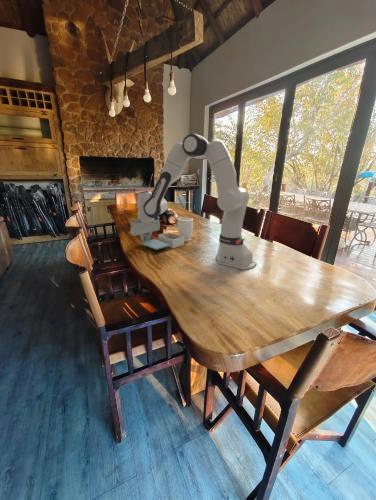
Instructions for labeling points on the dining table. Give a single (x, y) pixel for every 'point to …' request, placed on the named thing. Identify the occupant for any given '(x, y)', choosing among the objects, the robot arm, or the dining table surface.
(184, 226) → the jar
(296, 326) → the dining table surface
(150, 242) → the lid
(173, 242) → the tub
